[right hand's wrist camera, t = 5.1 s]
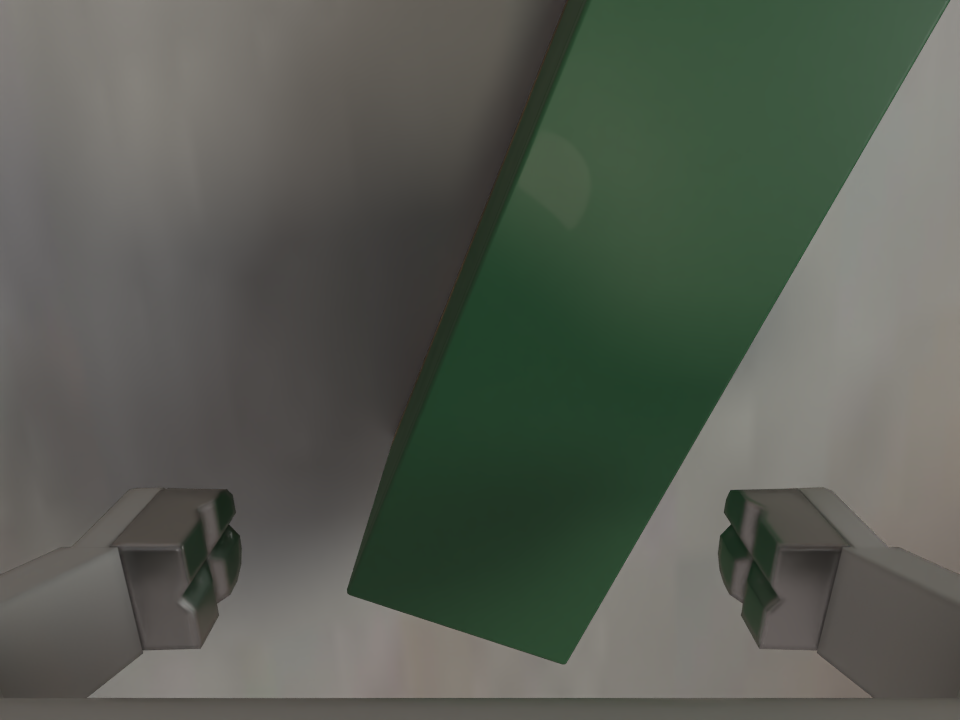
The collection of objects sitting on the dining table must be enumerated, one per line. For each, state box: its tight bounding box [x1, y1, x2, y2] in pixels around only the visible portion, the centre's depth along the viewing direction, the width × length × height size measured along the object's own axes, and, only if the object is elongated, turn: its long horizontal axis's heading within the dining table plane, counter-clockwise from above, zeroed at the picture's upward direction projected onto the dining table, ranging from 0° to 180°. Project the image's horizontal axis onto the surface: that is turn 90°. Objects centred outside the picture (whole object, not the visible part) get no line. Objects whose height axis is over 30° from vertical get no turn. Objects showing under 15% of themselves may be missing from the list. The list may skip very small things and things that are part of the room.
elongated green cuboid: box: [347, 0, 950, 664], centre depth 15 cm, size 17×5×8 cm, turn 158°
